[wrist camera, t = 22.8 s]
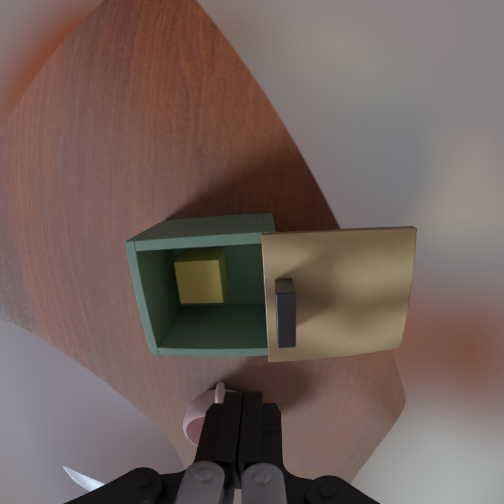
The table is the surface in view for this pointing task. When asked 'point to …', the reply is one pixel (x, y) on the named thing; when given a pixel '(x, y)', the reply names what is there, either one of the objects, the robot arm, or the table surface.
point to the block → (202, 276)
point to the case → (202, 314)
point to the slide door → (336, 291)
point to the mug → (201, 411)
